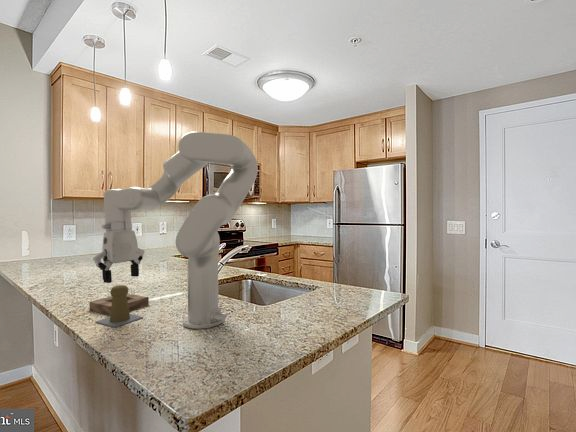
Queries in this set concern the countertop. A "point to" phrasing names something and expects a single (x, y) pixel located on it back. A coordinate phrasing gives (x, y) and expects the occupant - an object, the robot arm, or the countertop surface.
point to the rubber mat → (117, 324)
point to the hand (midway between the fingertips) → (121, 279)
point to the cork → (119, 304)
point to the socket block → (106, 303)
